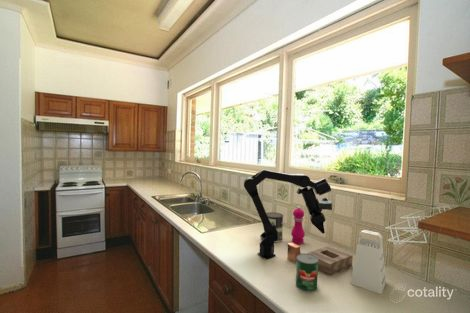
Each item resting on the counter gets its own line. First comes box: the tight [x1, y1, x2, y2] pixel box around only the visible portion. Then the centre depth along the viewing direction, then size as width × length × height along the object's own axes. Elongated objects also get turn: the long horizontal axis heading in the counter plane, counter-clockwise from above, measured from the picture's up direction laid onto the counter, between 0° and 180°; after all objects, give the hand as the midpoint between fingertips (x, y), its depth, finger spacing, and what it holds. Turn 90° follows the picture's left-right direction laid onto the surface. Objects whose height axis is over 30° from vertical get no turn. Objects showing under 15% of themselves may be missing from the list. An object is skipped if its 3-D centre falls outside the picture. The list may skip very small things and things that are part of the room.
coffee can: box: [266, 211, 284, 243], centre depth 139 cm, size 10×10×14 cm
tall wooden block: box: [287, 242, 301, 264], centre depth 114 cm, size 3×5×7 cm, turn 33°
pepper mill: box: [290, 205, 306, 245], centre depth 135 cm, size 7×7×20 cm
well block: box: [306, 245, 354, 277], centre depth 110 cm, size 16×12×5 cm
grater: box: [350, 229, 387, 295], centre depth 96 cm, size 10×10×20 cm
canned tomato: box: [295, 253, 319, 293], centre depth 93 cm, size 8×8×11 cm
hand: (322, 229), depth 117 cm, fingers open, 9 cm apart
